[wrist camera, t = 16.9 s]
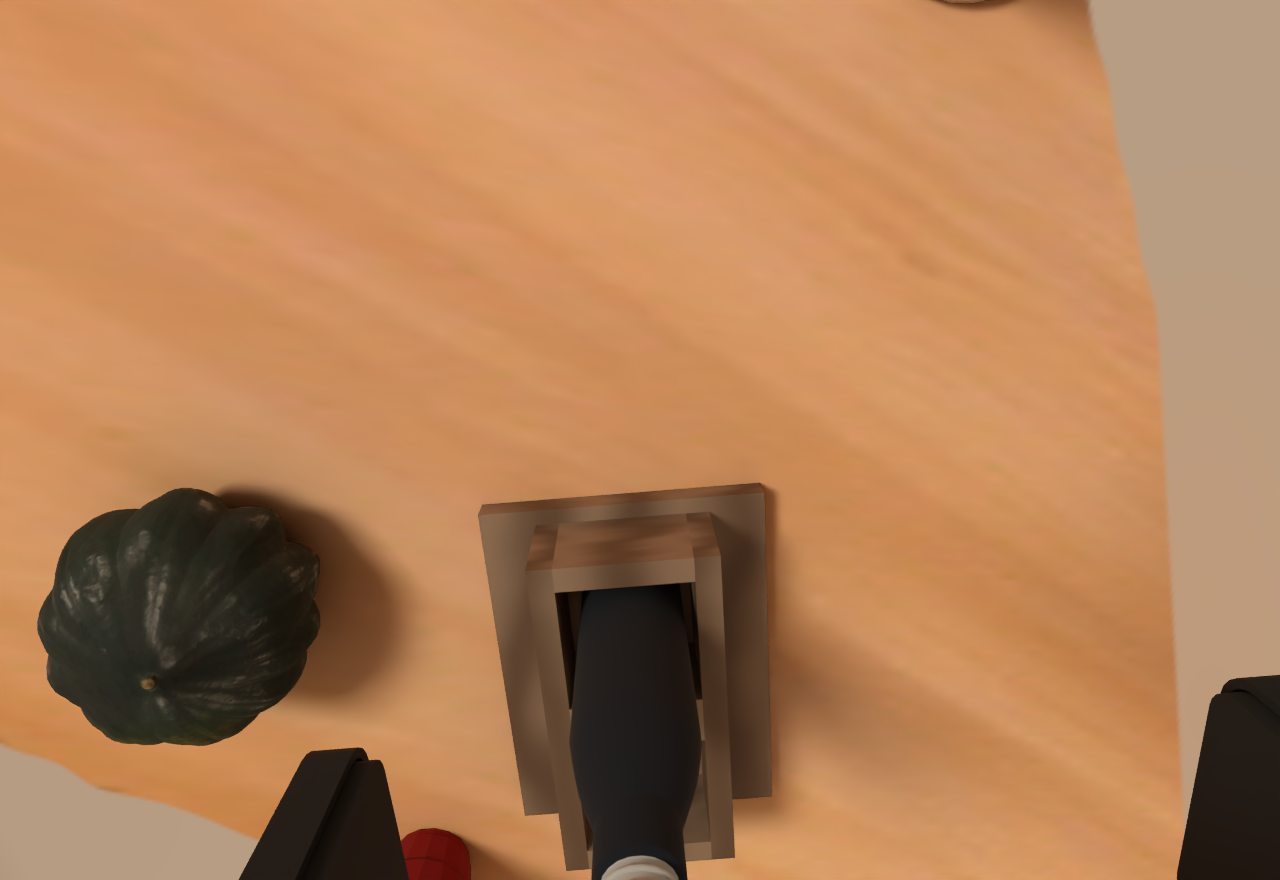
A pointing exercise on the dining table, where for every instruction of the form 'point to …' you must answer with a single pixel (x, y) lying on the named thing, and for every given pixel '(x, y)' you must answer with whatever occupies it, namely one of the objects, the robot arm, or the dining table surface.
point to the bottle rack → (626, 557)
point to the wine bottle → (635, 730)
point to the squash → (179, 619)
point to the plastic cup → (435, 856)
